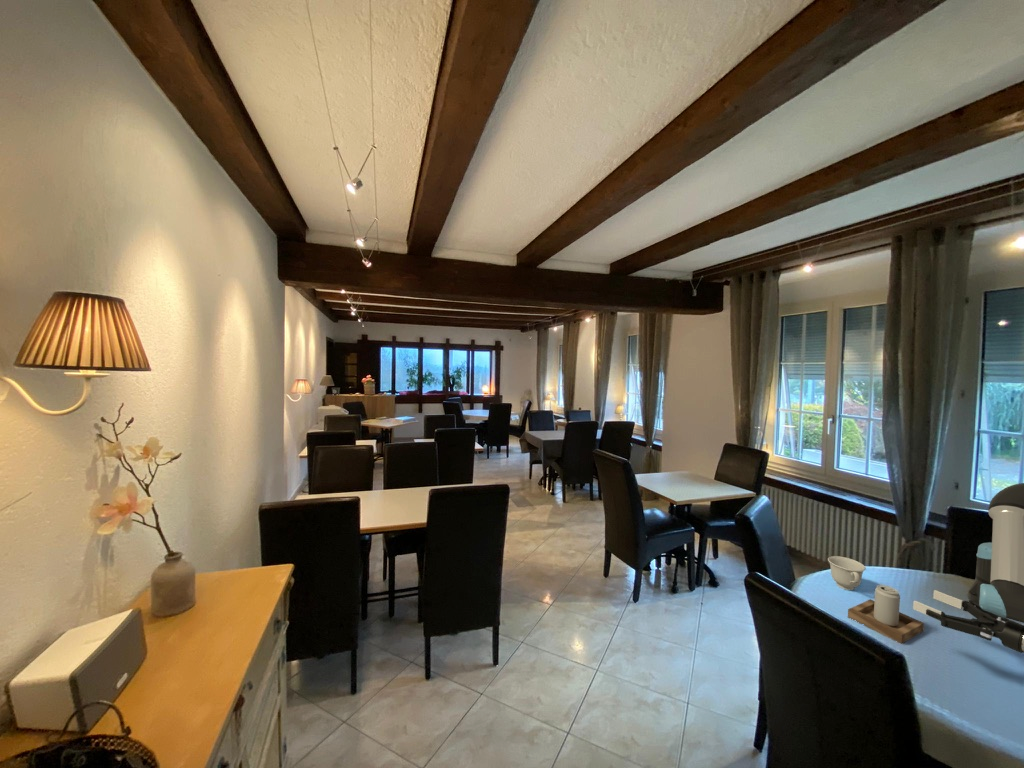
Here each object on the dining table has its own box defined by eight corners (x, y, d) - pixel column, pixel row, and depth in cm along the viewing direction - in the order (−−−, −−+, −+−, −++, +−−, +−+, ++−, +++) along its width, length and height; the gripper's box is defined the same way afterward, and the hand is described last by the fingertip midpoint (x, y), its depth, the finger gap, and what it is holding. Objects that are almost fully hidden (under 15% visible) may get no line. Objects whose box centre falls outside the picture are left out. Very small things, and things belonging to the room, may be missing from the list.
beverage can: (872, 613, 145) (874, 581, 144) (896, 620, 141) (898, 588, 140) (874, 622, 140) (876, 589, 139) (899, 630, 136) (901, 596, 135)
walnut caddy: (869, 606, 150) (870, 599, 150) (923, 631, 137) (924, 622, 137) (847, 617, 144) (848, 609, 144) (901, 644, 131) (901, 635, 130)
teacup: (838, 596, 157) (839, 571, 157) (821, 576, 172) (822, 554, 171) (875, 601, 154) (876, 576, 153) (855, 581, 168) (856, 558, 167)
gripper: (1008, 668, 106) (904, 620, 126) (1042, 640, 117) (941, 600, 136) (1010, 641, 106) (905, 598, 125) (1044, 615, 116) (942, 579, 135)
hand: (923, 599), depth 131 cm, fingers open, 13 cm apart
